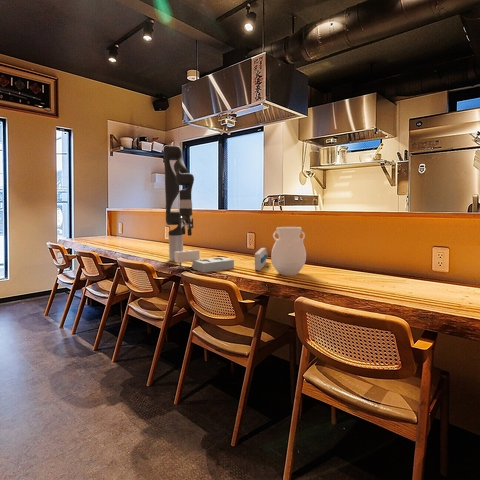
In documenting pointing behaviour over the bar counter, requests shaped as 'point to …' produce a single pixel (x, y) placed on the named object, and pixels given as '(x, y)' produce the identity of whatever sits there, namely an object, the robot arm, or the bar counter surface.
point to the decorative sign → (260, 258)
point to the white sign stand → (186, 256)
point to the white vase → (288, 250)
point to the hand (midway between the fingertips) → (186, 234)
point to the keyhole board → (213, 264)
